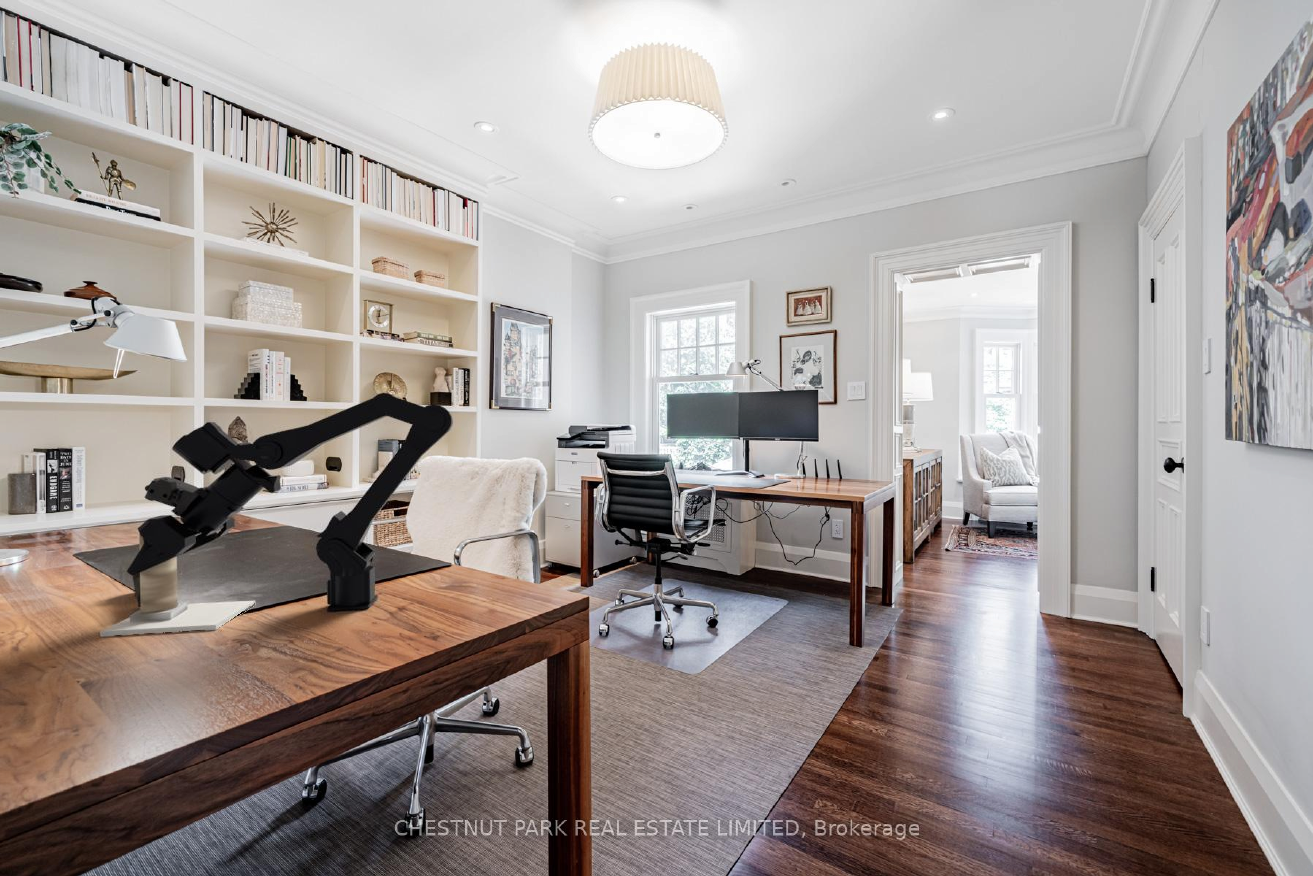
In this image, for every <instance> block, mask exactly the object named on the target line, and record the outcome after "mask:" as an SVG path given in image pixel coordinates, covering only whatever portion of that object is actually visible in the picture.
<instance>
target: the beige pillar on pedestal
mask: <svg viewBox="0 0 1313 876" xmlns="http://www.w3.org/2000/svg"><path fill="white" fill-rule="evenodd" d="M138 534H139V539H138V540H139V550H140V549H141V547H142V546H143V544H144V541H143V537H141V536H140V532H139V531H138ZM140 597H141V608H140V609H139V610H137V611H135V612H134V613H131V614H130V615H129V618H130V623H138V622H151V621H163V620H171V619H173V618H175V617H176V616H178V615H179V614H181V613H182V612H184V611H186V610H187V604H188V601H185V602H184V601H183V602H178V599H179V598H178V556H177V557H174V558H172V559H170V560H168V561H165V562H163V563H161V564H159V565H156V566H154V567H152V568H150V569H147V570H145V571H143V572H141V573H140Z"/></svg>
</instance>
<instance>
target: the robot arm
mask: <svg viewBox="0 0 1313 876" xmlns="http://www.w3.org/2000/svg"><path fill="white" fill-rule="evenodd" d="M386 417H389V418H392V419H394V420H398V421H401V422H404V423H406V424H409V425H411V427H410V429H409V431H408V432H407V435H406V438H405V439H404V441H403V443H402V445H401V447H400V448H399V449H398V450H397V451H396V453H395V454H394V455H393V457H392V458H391V459H390V461H389V462H388V463H387V464H386V466H385V467H384V469H383V470H382V471H381V472H380V473H379V475H378V476H377V477H376V479H375V480H374V482H373V483H372V484H371V486H370V487H369V488H368V489H367V490H366V491H365V493H364V494H363V496H362V497H361V498H360V500H359V501H358V502H357V503H356V505H354V507H353V508H352V509H351V510H350V511H349V512H348V513H347V514H346V513H345V512H343V511H342V510H340V511H339V512H338V513H336V514H334V515H332V517H331V519H330V521H329V523H327V526H326V528H325V529H324V530H323V531H322V532H320V533H318V534H317V535H316V537H317V538H319V540H318V541H317V543H316V546H315V550H316V556H317V557H318V559H319V560H320V561H321V562H322V563H323V564H326V565H327V567H328V570H329V579H328V580H326V604H327V605H328V606H327V607H326V611H328V612H332V611H333V612H334V611H350V610H351V611H352V610H367V609H369V608H370V607H371V606H372V605H373V604H374V603H375V602H376V601H377V600H378V599H379V595H378V594H376V574H375V573H376V568H375V565H370V564H372V563H373V561H374V557H375V554H376V551H375V550H374V549H373V548H372V547H371V546H369V545H368V544H367V543H366V542H364V541H365V538H366V536H367V535H368V533H369V530H370V528H371V526H372V524H373V521H374V520H375V518H376V516H377V515H379V513H380V511H381V510H382V509H383V507H384V506H385V505H386V503H387V502H388V500H390V498H391V497H392V496H393V494H394V493H395V492H396V491H397V489H398V488H399V486H400V485H402V484H401V483H403V481H404V480H405V479H406V477H407V476H408V475H409V473H410V472H412V470H413V468H414V467H415V466H416V464H417V463H418V462H419V460H420V459H421V458H422V457H423V456H424V455H425V454H426V453H427V452H428V451H429V450H430V449H431V448H432V447H433V446H435V445H436V444H437V443H438V442H440V440H441V439H442V438H443V437H445V436H446V435H447V434H448V433H449V432H450V431H451V430H452V427H453V424H454V420H453V419H454V418H453V415H452V414H451V412H450V411H449V409H447V408H445V407H444V406H441V405H438V404H429V405H426V406H422V405H420V404H417V403H414V402H411V401H408V400H405V399H403V398H399V397H397V396H396V395H394V394H391V393H389V392H380V393H378V394H376V395H375V396H373V397H372V398H370V399H367V400H365V401H362V402H359V403H358V404H355V405H353V406H351V407H348V408H346V409H345V408H344V410H341V411H338V412H336V413H333V414H332V415H329V416H327V417H324V418H322V419H320V420H317V421H315V422H312V423H310V424H307V425H303V426H299V427H295V428H289V429H285V430H281V431H277V432H273V433H269V434H264V435H262V436H260V437H258V438H256V439H255V440H254V441H253V443H251V442H239V443H238V442H237V441H236V440H234V438H232V437H231V436H229V434H227V433H226V432H225V431H224V430H223V429H222V427H221V426H219V425H218V424H217V423H216V422H215V421H207V422H206V423H204V424H203V425H202V426H200V427H198V428H195V429H193V430H192V431H191V432H189V433H188V434H184V435H182V436H181V437H180V438H178V440H177V441H176V442H175V443H174V444H173V446H172V447H171V449H172V450H171V451H173V452H175V454H176V455H178V456H179V457H181V458H182V459H183V460H184V461H185V462H187V463H188V464H189V465H190V466H192V467H193V468H195V470H197V471H198V472H200V474H201V475H206V474H209V473H212V474H213V475H217V474H219V473H221V472H222V471H224V472H222V474H220V475H219V476H218V477H217V478H216V479H215V480H214V481H213V482H211V483H210V484H209V485H208V486H205V487H197V486H195V485H192V484H190V483H188V482H185V481H182V480H178V479H176V478H174V477H170V476H162V477H158V478H154V479H153V480H151V481H150V483H149V484H148V485H146V486H144V490H145V491H146V493H145V496H144V499H146V500H147V501H151V502H153V501H154V502H157V503H160V504H162V505H163V504H164V505H166V506H169V507H172V508H173V509H171V513H173V514H174V515H175V516H177V517H180V518H179V520H178V519H176V517H174V516H173V515H171V514H170V515H169V514H166V515H165V514H163V515H158V516H154V517H152V518H148V519H146V521H144V522H143V523H142V524H140V525H139V526H138V527H137V530H138V533H139V532H140V536H141V537H143V541H144V544H143V546H142V547H141V549H140V548H139V551H138V552H137V554H136V556H135V557H134V559H133V561H132V562H131V564H130V565H129V566H128V568H127V570H126V572H127V573H128V574H129V575H130V576H132V577H133V576H134V575H136V574H138V573H141V572H143V571H145V570H147V569H150V568H152V567H154V566H156V565H159V564H161V563H163V562H165V561H168V560H170V559H172V558H174V557H177V558H178V557H180V556H182V555H184V554H187V553H188V552H190V551H193V550H195V549H198V548H201V547H202V546H205V545H207V544H209V543H211V542H213V541H215V540H218V539H220V538H221V537H222V536H225V535H227V534H228V533H229V532H230V531H232V529H234V528H235V518H233V516H234V515H237V514H239V513H241V511H243V510H244V509H245V508H244V506H245V505H247V504H248V503H249V501H251V500H252V499H253V498H254V497H255V496H256V495H257V494H258V493H260V492H261V491H262V490H263V489H265V490H266V491H267V492H269V493H270V494H274V493H276V492H279V491H281V489H282V488H281V487H282V486H281V475H279V474H278V475H272V474H270V473H269V472H268V471H273V470H278V469H282V468H287V467H291V466H293V465H294V464H296V463H298V462H299V461H300V460H302V459H304V458H306V457H307V456H308V455H310V454H311V453H313V452H314V451H315V450H316V449H318V448H319V447H321V446H322V445H324V444H326V443H329V442H332V441H333V440H336V439H338V438H339V437H342V436H344V435H345V436H346V435H347V434H349V433H352V432H354V431H356V430H358V429H360V428H363V427H365V426H367V425H370V424H372V423H375V422H377V421H379V420H381V419H384V418H386ZM249 462H254V464H253V465H252V464H251V463H249ZM232 463H233V464H232ZM230 465H231V466H230ZM228 467H229V468H228ZM225 469H226V470H225ZM266 470H268V471H266Z"/></svg>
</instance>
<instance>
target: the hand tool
mask: <svg viewBox="0 0 1313 876" xmlns="http://www.w3.org/2000/svg"><path fill="white" fill-rule="evenodd" d="M132 582H133V583H132V584H133V587H134V594H135V597H136V598H137V604H138V605H137V607H139V608H140V609H141V597H140V573H138V574H136V575H134V576H132Z"/></svg>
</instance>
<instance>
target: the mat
mask: <svg viewBox="0 0 1313 876" xmlns="http://www.w3.org/2000/svg"><path fill="white" fill-rule="evenodd" d="M254 603H255V604H256V600H242V601H241V600H239V601H218V602H203V603H201V602H200V603H187V610H186V611H184V612H182V613H181V614H179V615H178V616H176V617H175V618H173V619H171V620H163V621H151V622H138V623H130V617H128V618H126V619H123V620H121V621H120V622H118V623H115V624H113V625H111V626H109V627H107V628H104V629H102V630H101V631H99V633H100V634H99V635H100V637H101V638H102V637H103V638H104V637H105V638H106V637H115V636H114V635H122V636H134V635H133V634H139V635H145V634H144V633H155V634H166V633H165V632H172V633H183V632H182V631H189V632H191V631H190V630H205V631H216V630H218V629H220V628H221V627H223V626H224V624H225V623H226V622H228V621H229V622H231V621H232V620H231V619H233V618H234V617H235V616H237V615H238V614H240V613H241V612H242V611H244V610H245V609H246V608H248V607H249V606H252V605H253V604H254ZM240 615H241V614H240ZM237 617H238V616H237ZM234 619H235V618H234ZM234 619H233V620H234ZM230 620H231V621H230ZM229 622H228V623H229ZM226 624H227V623H226ZM226 624H225V625H226ZM222 625H223V626H222ZM219 627H220V628H219ZM179 631H180V632H179ZM163 632H164V633H163Z"/></svg>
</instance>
